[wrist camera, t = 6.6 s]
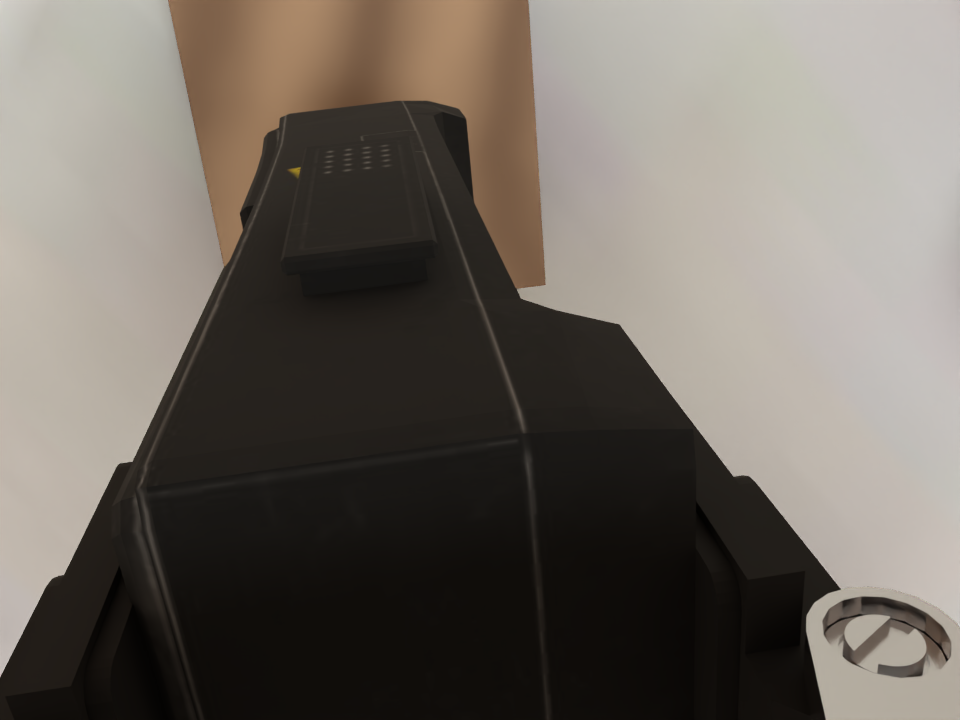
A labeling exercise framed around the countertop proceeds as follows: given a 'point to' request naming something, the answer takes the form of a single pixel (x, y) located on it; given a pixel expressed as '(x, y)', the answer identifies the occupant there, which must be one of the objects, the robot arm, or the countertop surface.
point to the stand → (368, 92)
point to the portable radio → (405, 465)
